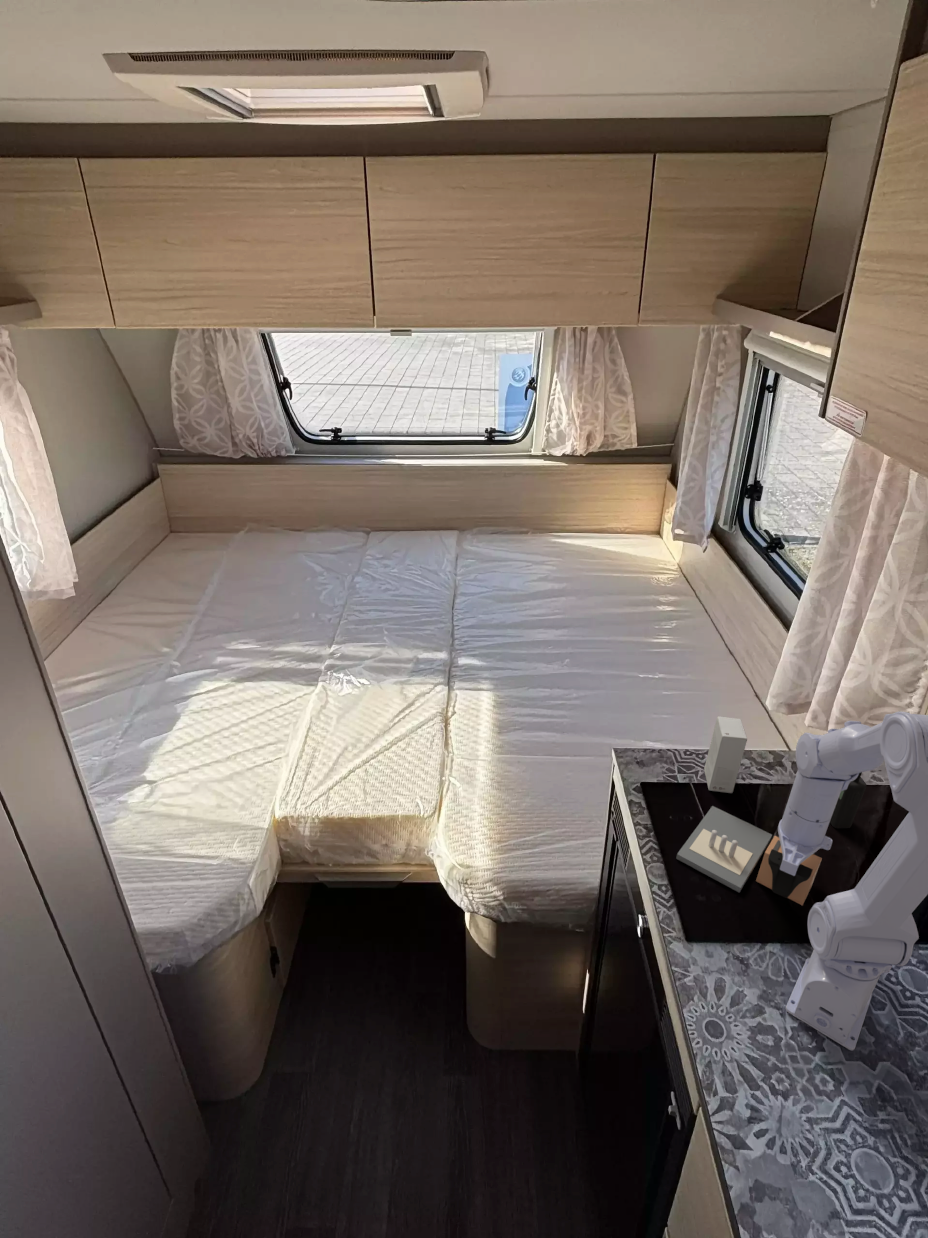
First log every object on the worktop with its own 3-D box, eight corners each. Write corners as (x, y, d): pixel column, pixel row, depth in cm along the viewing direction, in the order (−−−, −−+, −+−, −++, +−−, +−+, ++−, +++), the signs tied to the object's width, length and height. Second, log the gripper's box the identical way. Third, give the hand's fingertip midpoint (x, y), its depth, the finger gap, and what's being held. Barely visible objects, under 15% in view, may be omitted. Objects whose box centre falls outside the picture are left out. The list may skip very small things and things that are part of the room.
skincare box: (733, 794, 123) (748, 739, 117) (708, 791, 123) (721, 736, 118) (727, 771, 128) (741, 718, 122) (703, 768, 128) (716, 715, 123)
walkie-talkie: (819, 809, 120) (844, 739, 113) (838, 809, 120) (864, 739, 113) (834, 830, 116) (861, 758, 109) (854, 829, 116) (882, 758, 109)
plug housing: (802, 905, 102) (813, 876, 99) (755, 881, 106) (765, 852, 103) (811, 887, 105) (822, 857, 102) (765, 864, 109) (774, 835, 106)
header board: (739, 892, 104) (745, 873, 102) (676, 858, 109) (680, 839, 107) (770, 839, 113) (776, 820, 111) (711, 810, 119) (716, 791, 117)
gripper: (831, 853, 91) (804, 923, 97) (849, 790, 102) (824, 858, 108) (774, 829, 94) (752, 899, 101) (797, 771, 105) (776, 838, 111)
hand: (786, 876), depth 105 cm, fingers open, 7 cm apart
